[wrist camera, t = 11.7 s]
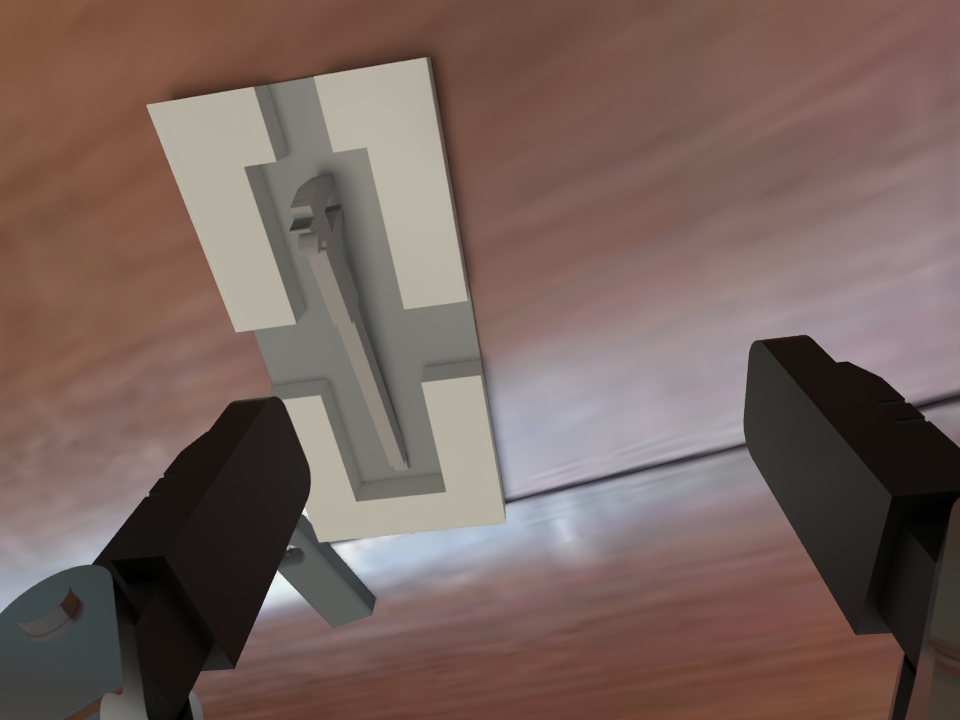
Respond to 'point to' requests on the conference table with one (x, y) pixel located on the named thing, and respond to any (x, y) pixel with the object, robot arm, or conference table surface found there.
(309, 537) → the bracket
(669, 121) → the conference table surface
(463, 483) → the case insert
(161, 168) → the conference table surface
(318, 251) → the caliper
